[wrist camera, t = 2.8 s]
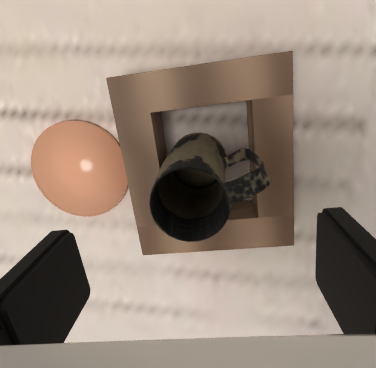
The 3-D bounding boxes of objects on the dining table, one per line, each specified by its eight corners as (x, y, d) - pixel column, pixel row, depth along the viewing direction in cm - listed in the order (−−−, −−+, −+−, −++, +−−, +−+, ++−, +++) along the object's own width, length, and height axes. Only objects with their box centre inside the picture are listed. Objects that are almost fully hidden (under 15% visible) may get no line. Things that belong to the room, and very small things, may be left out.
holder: (279, 56, 24) (292, 50, 20) (283, 224, 29) (294, 245, 25) (122, 79, 25) (106, 77, 22) (151, 234, 30) (142, 255, 27)
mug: (184, 196, 29) (166, 267, 17) (158, 149, 27) (120, 193, 16) (257, 163, 27) (289, 218, 16) (233, 111, 25) (250, 130, 14)
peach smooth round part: (118, 114, 26) (116, 114, 26) (137, 210, 30) (136, 212, 29) (21, 126, 28) (17, 127, 27) (50, 217, 31) (47, 219, 30)
